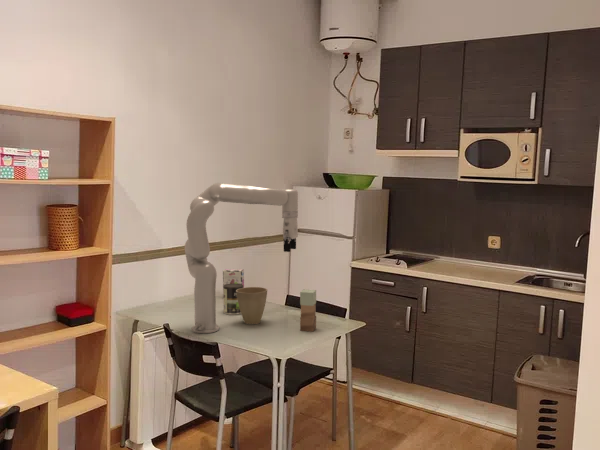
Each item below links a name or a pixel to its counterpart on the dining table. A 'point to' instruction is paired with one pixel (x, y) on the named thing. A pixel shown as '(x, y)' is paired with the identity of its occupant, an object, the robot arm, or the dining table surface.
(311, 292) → the sage block
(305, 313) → the tower block
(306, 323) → the tower base block
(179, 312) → the dining table surface
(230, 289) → the coffee can
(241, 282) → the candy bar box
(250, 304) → the plant pot
